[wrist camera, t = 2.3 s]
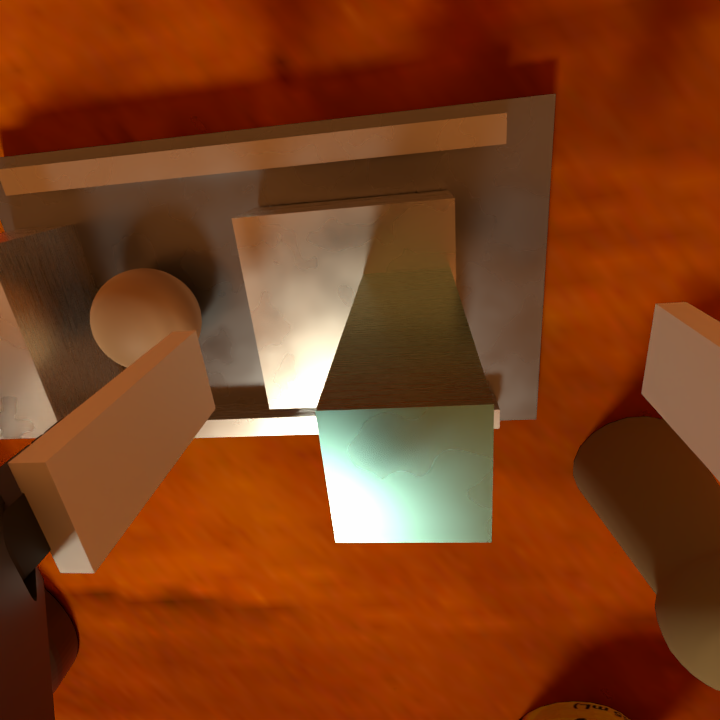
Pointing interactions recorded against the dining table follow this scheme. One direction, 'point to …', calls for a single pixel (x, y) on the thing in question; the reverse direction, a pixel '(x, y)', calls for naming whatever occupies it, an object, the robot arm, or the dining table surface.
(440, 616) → the dining table surface
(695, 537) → the olive brown waisted cylinder
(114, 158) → the tray
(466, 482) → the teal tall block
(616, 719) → the beverage can
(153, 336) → the walnut ball
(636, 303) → the dining table surface
